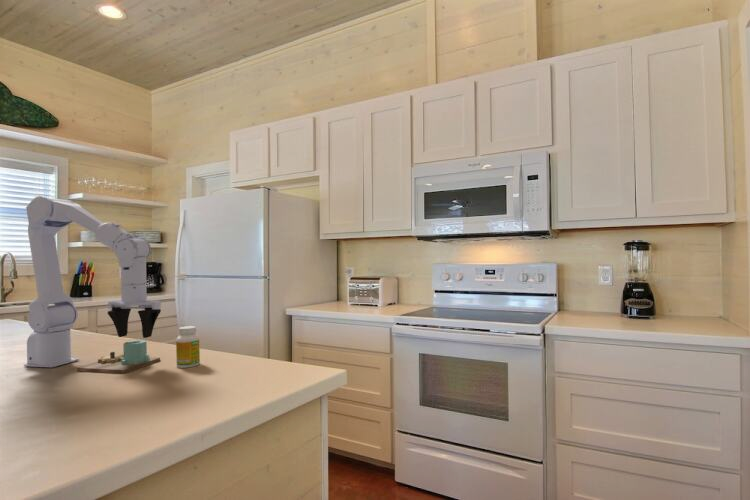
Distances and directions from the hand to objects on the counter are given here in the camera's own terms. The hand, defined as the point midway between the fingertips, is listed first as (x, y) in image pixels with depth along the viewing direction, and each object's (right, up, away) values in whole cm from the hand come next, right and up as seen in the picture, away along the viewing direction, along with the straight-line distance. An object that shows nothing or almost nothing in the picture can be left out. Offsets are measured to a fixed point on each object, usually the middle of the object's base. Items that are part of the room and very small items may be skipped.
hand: (134, 336), depth 110 cm
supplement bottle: (+15, -7, -2) cm, 17 cm away
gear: (0, -6, 0) cm, 6 cm away
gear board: (-3, -7, -1) cm, 8 cm away
